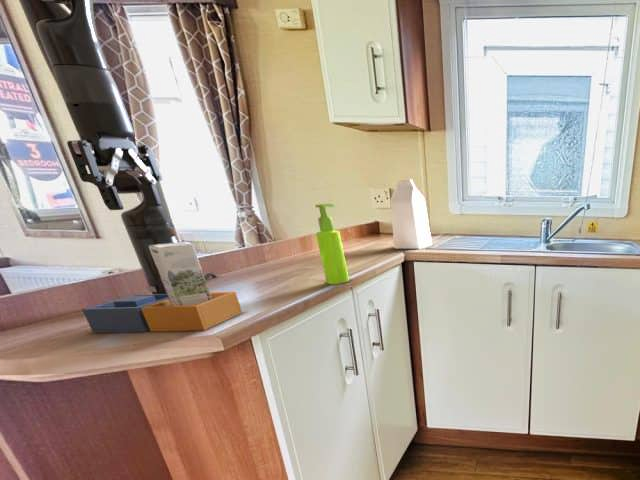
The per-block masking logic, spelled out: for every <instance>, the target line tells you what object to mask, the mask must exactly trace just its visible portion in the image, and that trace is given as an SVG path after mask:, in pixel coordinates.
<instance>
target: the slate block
mask: <svg viewBox="0 0 640 480" xmlns="http://www.w3.org/2000/svg"><path fill="white" fill-rule="evenodd" d="M130 296H131V297H128V296H127V297H128V298H125V297H123V298H124V299H121V298H120V299H121V300H118V299H116V300H117V301H114V300H113V301H114V302H113V303H114V305H115V307H116V308H120V307H137V306H140V305H144V304H147V303H150V302H153V301H156V300H155V297H154V296H132V295H130Z"/></svg>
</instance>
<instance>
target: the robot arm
mask: <svg viewBox="0 0 640 480" xmlns="http://www.w3.org/2000/svg"><path fill="white" fill-rule="evenodd" d="M18 2H19V4H20V6H21V8H22V11H23V13H24V16H25V18H26V20H27V22H28V26H29V28H30V29H31V32H32V35H33V37H34V39H35V42H36V43H37V46H38V48H39V50H40V53H41V54H42V57H43V59H44V61H45V63H46V65H47V67H48V70H49V72H50V73H51V76H52V78H53V80H54V83H55V84H56V86H57V88H58V90H59V93H60V95H61V97H62V99H63V102H64V103H65V105H66V106H65V107H66V109H67V111H68V113H69V116H70V119H71V121H72V122H73V125H74V127H75V130H76V132H77V135H78V137H79V139H73V140H67V142H66V144H67V148H68V150H69V152H70V155H71V158H72V160H73V162H74V166H75V168H76V171H77V173H78V175H79V179H80V180H81V182H84V183H89V184H92V185H94V186H96V187H97V189H98V191H99V193H100V194H99V195H100V196H101V199H102V201H103V203H104V205H105V206H106V208H107V209H108V210H109V211H122V210H124V205H123V203H122V200H121V197H120V195H122V194H124V195H125V194H127V195H128V194H142V201H141V202H140V203H139V204H137V205H136V206H134V207H133V208H130V209H127V210H125V211H123V212H121V214H120V217H121V221H122V223H123V226H124V228H125V230H126V233H127V235H128V238H129V240H130V242H131V245H132V247H133V250H134V252H135V254H136V258H137V260H138V262H139V265H140V267H141V269H142V272H143V274H144V278H145V280H146V282H147V284H148V285H146V288H147V291H148V292H151V294H167V293H166V291H165V288H164V285H163V283H162V280H161V278H160V275H159V272H158V270H157V267H156V265H155V262H154V260H153V257H152V254H151V252H150V249H149V245H156V244H166V243H175V242H181V241H180V239H179V236H178V234H177V231H176V228H175V225H174V222H173V220H172V217H171V214H170V213H171V212H170V210H169V206H168V203H167V200H166V197H165V194H164V190H163V188H162V185H161V181H162V180H163V177H162V176H163V175H162V174H161V172H160V170H159V169H160V168H159V166H158V164H157V162H156V159H155V157H154V153H153V152H152V149H151V147H150V145H148V144H140V145H138V144H137V145H136V144H134V141H133V140H132V138H133V137H134V136H135V130H134V127H133V125H132V122H131V119H130V116H129V114H128V111H127V108H126V106H125V103H124V100H123V98H122V95H121V92H120V89H119V87H118V85H117V83H116V81H115V79H114V78H113V75H112V73H111V71H110V68H109V65H108V62H107V59H106V57H105V54H104V51H103V48H102V45H101V43H100V39H99V36H98V31H97V28H96V22H95V21H96V20H95V14H94V13H95V12H94V0H18ZM68 6H70V7H71V9H70V8H69V7H68ZM88 171H89V172H88ZM211 277H212V278H213V279H216V278H218V276H217V275H216V274H215V273H213V272H209V273H206V274H205V275H204V278H205V281H207V280H208V279H209V278H211Z"/></svg>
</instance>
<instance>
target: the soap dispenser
mask: <svg viewBox="0 0 640 480" xmlns="http://www.w3.org/2000/svg"><path fill="white" fill-rule="evenodd" d="M314 206H315V208H318V209H319V214H320V216H319V217H318V218H317V221H318V226H319V231H317V232H315V235H316V241H317V246H318V250H319V254H320V258H321V262H322V267H323V272H324V276H325V281H326V284H328V285H340V284H346V283H349V282H350V277H349V272H348V268H347V261H346V258H345V251H344V247H343V243H342V238H341V232H340V230H335V227H334V223H333V218H332V217H331V216H330V215H328V210H327V207H328V208H335V206H336V205H335V204H332V203H318V204H315V205H314Z"/></svg>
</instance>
